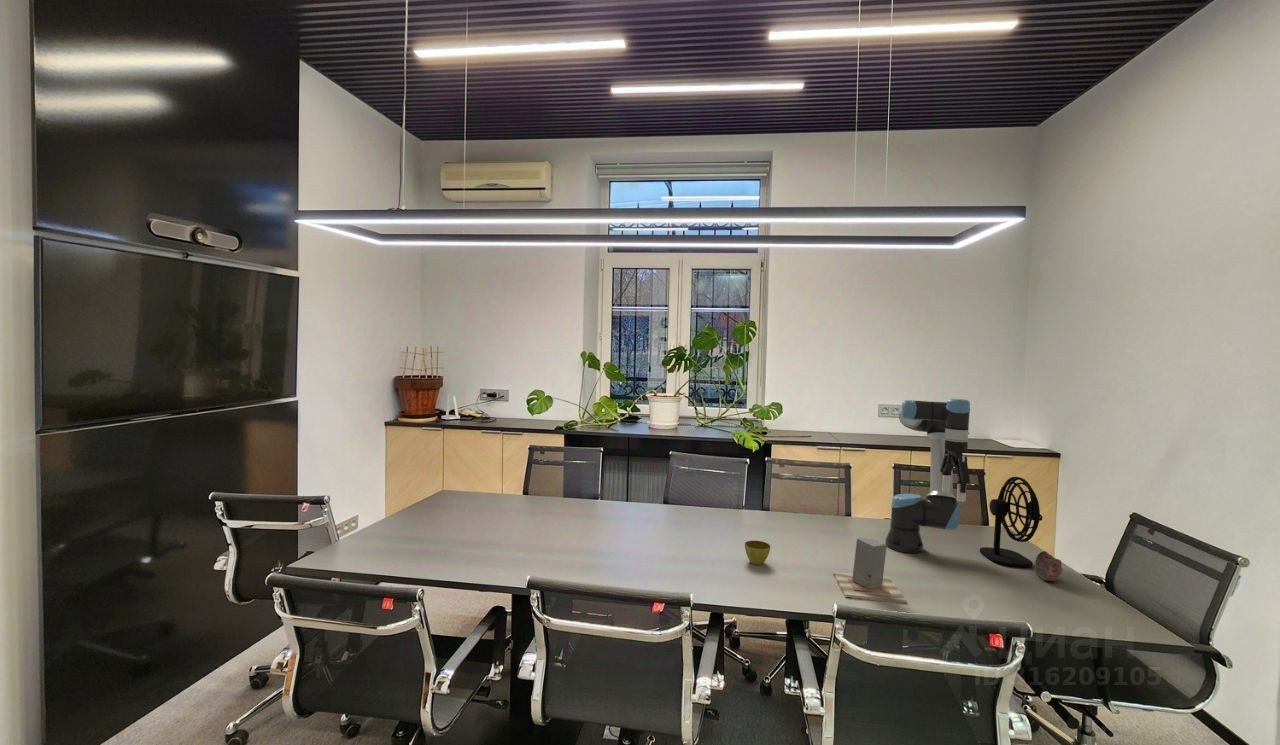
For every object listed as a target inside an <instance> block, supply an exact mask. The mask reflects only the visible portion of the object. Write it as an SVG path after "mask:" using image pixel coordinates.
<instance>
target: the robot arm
mask: <svg viewBox="0 0 1280 745" xmlns="http://www.w3.org/2000/svg"><path fill="white" fill-rule="evenodd" d="M901 403H902V404H901V410H900V412H899V414H898V419H899V422H900V423H901V425H902V426H904V427H905V428H907V429H910V430H913V431H916V432H924V433H926V436H927V438H928V439H929V440H930V473H929V474H930V476H929V477H930V479H929V480H930V481H929V483H930V485H929V487H930V488H929V489H930V490H929V493H927V494H926V497H925V499H924V498H923V497H922V496H921V495H919V494H918V493H900V494H899V493H897V494H896V495H895V494H894V495H893V497H892V500H891V506H890V507H891V512H890V527H889V531H887V532H888V533H887V535H886V537H885V542H884V545H886V546H887V547H886V548H889V549H892V550H894V551H897V552H901V553H902V552H903V553H907V554H919V553H923V552H924V543H923V540H922V536H921V527H924V528H926V527H927V528H931V529H941V530H944V531H946V530H947V531H954V530H956V529H957V528H958V527H959V523H960V520H961V514H962V504H961V503H959V502H964V503H965V502H966V498H967V486H968V484H971V480H970V474H969V473H970V472H969V466H968V456H967V455H966V456H965V455H964V454H963V453H967V452H968V450H969V448H968V446H969V443H968V440H969V435H970V432H969V428H970V427H969V426H970V424H969V423H970V413H971V402H970V400H968V399H962V398H961V399H960V398H949V399H947V402H945V401H929V400H928V401H925V400H914V399H910V400H909V399H907V400H906V399H905V400H903V401H902V402H901ZM954 469H955V471H956V476H957V480H958V481H957V482H956V484H957V488H956V496H955V495H954V494H953V488H954V487H953V484H954V482H953V470H954Z"/></svg>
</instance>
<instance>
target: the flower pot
mask: <svg viewBox="0 0 1280 745" xmlns="http://www.w3.org/2000/svg"><path fill="white" fill-rule="evenodd" d="M744 548H745V553H746V556H747V558H748V560H749V563H751V564H753V565H755V566H756V565H757V566H759V565H763V564H764V563H765V562H766V560H767V559H768V557H769V555H770V551H771V548H772V547H771V544H769V543H768V542H766V541H762V540H747V541H745V542H744Z"/></svg>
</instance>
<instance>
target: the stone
mask: <svg viewBox="0 0 1280 745" xmlns="http://www.w3.org/2000/svg"><path fill="white" fill-rule="evenodd" d="M1062 564H1063V563H1062V561H1061V559H1058V558H1054V557H1053V555H1051V554H1049V552H1047V551H1045V550H1043V551H1041V552H1039V554H1037V555H1036V557H1035V563H1034V572H1035V574H1037V575H1038V576H1039V577H1040V578H1041V580H1044V581H1047V582H1056V581H1058V578H1059V576H1060V575H1061V574H1063V571H1064V570H1063V568H1062Z"/></svg>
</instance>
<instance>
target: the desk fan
mask: <svg viewBox="0 0 1280 745" xmlns="http://www.w3.org/2000/svg"><path fill="white" fill-rule="evenodd" d="M1019 480H1020V482H1016V481H1019ZM1021 485H1023V486H1025V487H1026V489H1027V490H1024V489H1023V487H1022V486H1021ZM1016 488H1018V489H1019V492H1020V494H1019V495H1018V498H1016V497H1015V495H1014V490H1015V489H1016ZM999 490H1000V491H999V494H998V497H997V498H993V499H991V500H990V501H989V511H990V514H991V515H992V516H994V534H993V535H994V536H993V547H990V546H989V547H987V546H985V547H984V546H983V547H980V548H979V552H980V553H981V555H983V556H985V557H986V558H987V559H989V560H990V561H992V562H995V563H996V564H998V565H999V564H1000V565H1002V566H1009V567H1019V568H1031V567H1033V564H1034V563H1033V561H1032V560H1031V559H1029V558H1027V557H1026V556H1025V555H1022V554H1021V553H1019V552H1017V551H1015V550H1011V549H1007V548H1002V547H1001V534H1002V527H1003V529H1004V530H1005V532H1006V533H1007V535H1008V537H1009V538H1010V539H1011V540H1014V541H1016V542H1020V543H1026V542H1028V541H1030V540H1031V539H1032V538H1033V537H1034V535H1035V534H1036V531H1037V530H1038V528H1039V524H1040V521H1043V515H1042V514H1041V511H1040V510H1041V509H1040V503H1039V500H1038V497H1037V495H1036V492H1035V491H1034V489H1033V488H1032V485H1030V483H1029V482H1028V481H1027V480H1026V479H1025V478H1023V477H1020V476H1011V477H1009V478H1008V479H1006V481H1005V482H1004V484H1003V485H1002V486H1001V489H999ZM1026 493H1028V494H1029V496H1030V501H1029V499H1028V497H1027V494H1026ZM1012 498H1013V501H1014V502H1012V501H1011V500H1012ZM1021 498H1023V499H1024V504H1025V506H1024V505H1021V504H1020V501H1021ZM1011 506H1015V511H1011ZM1020 509H1023V510H1025V514H1021V513H1020ZM1012 515H1013V516H1015V518H1014V519H1013V517H1012ZM1007 516H1008V519H1009V522H1010V525H1008V524H1007V521H1006V517H1007ZM1018 518H1019V521H1020V523H1021V524H1022V526H1023V527H1022V529H1021V530H1019V528H1017V527H1016V523H1017V521H1018ZM1023 519H1025V521H1024V520H1023ZM1032 521H1033V523H1032ZM1031 524H1032V525H1031ZM1010 528H1012V529H1013V531H1014V532H1016V533H1013V532H1012V531H1011V530H1010ZM1029 530H1030V532H1029ZM1028 532H1029V533H1028Z"/></svg>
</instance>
